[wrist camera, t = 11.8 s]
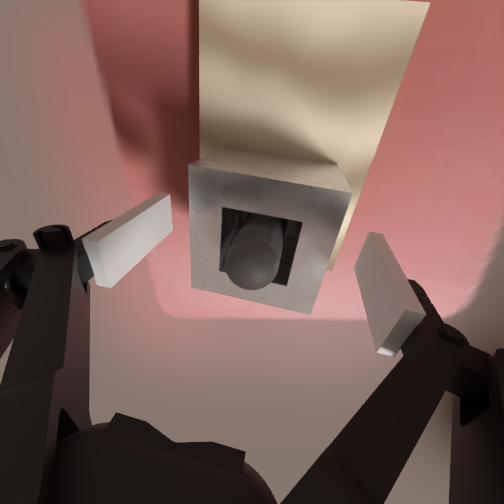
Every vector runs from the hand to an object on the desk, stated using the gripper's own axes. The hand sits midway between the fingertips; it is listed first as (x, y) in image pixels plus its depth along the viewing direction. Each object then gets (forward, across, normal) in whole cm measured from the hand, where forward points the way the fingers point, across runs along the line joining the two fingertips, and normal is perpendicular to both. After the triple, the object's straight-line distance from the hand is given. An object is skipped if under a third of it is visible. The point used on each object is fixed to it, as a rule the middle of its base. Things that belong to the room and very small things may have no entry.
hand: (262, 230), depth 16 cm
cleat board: (+7, 0, +4) cm, 8 cm away
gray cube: (+5, 0, 0) cm, 5 cm away
